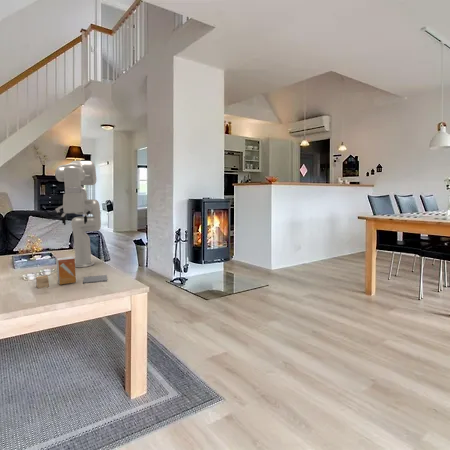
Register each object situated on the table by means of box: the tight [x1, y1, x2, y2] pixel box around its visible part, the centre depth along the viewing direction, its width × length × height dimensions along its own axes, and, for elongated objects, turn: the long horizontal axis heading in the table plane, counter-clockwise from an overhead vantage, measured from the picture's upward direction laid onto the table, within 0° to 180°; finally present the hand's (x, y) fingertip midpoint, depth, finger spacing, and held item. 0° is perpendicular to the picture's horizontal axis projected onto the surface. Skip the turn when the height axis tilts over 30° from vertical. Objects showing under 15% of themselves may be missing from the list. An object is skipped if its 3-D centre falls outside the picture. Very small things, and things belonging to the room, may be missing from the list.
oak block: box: [35, 275, 50, 289], centre depth 175 cm, size 5×5×5 cm
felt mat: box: [82, 274, 108, 284], centre depth 187 cm, size 12×12×1 cm
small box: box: [56, 256, 77, 286], centre depth 181 cm, size 8×6×13 cm
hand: (75, 224), depth 178 cm, fingers open, 9 cm apart
